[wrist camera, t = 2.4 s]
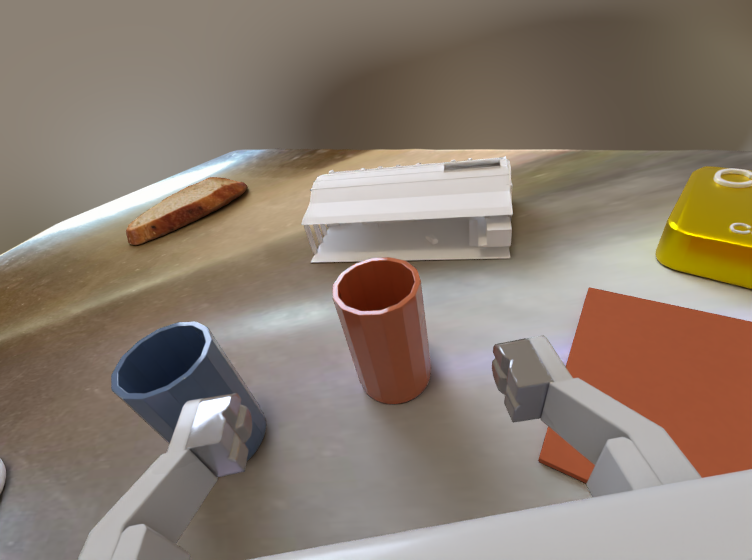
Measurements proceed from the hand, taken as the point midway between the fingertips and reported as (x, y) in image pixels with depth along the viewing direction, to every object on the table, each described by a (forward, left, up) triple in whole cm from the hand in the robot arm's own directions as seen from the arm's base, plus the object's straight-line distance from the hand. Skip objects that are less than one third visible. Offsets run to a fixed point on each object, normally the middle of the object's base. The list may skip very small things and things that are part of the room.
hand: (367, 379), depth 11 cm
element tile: (+38, -18, -16) cm, 45 cm away
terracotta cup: (+10, +7, -16) cm, 20 cm away
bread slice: (+24, +57, -16) cm, 64 cm away
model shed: (+31, +17, -16) cm, 39 cm away
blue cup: (-1, +16, -16) cm, 23 cm away
